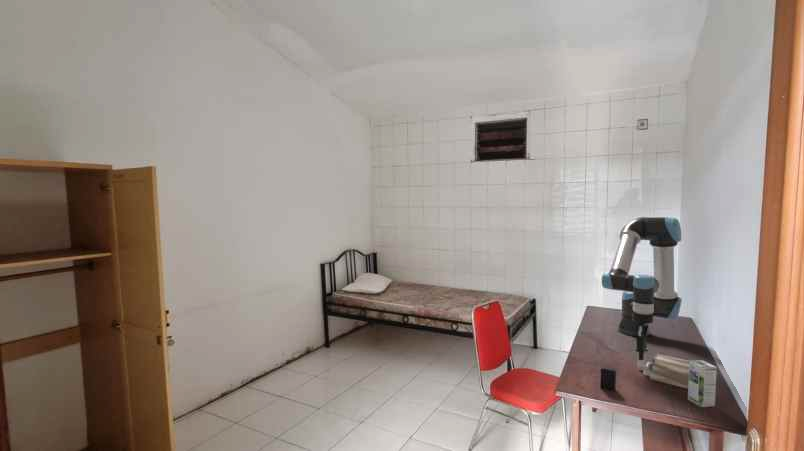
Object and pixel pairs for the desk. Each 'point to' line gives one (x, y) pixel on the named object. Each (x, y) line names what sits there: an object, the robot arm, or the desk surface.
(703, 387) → the syrup box
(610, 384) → the ink cartridge
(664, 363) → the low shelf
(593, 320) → the desk surface
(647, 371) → the white tray
